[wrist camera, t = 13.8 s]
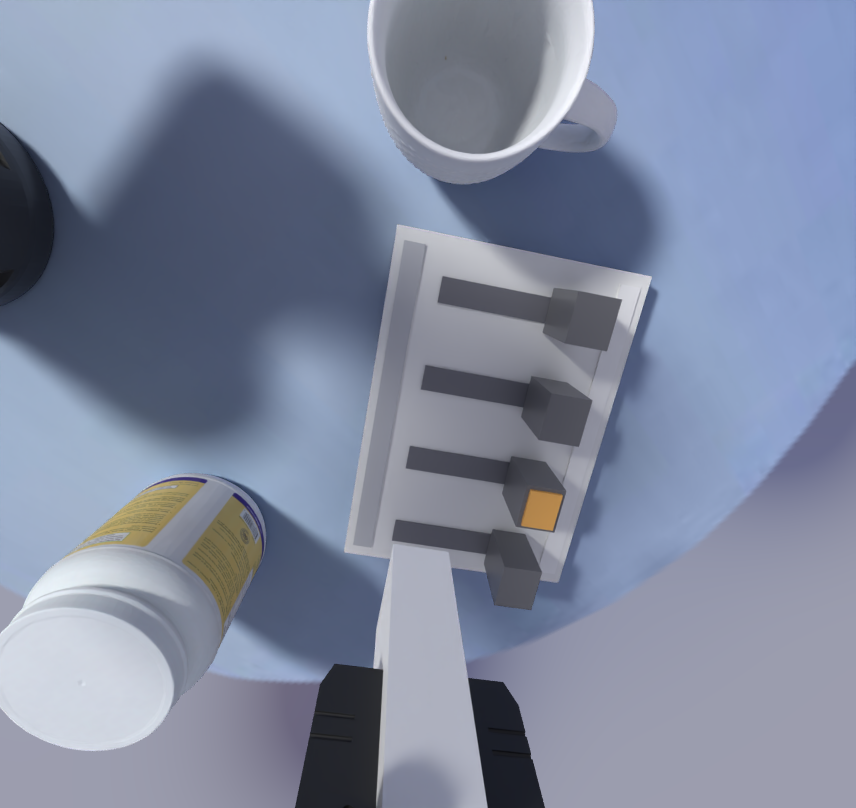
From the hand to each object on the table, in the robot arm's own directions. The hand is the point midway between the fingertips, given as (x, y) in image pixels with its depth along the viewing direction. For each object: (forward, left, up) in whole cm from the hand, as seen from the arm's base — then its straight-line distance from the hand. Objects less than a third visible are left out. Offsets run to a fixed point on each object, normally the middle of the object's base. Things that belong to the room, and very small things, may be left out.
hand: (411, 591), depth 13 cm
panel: (+7, -3, -28) cm, 29 cm away
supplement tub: (-16, -18, -29) cm, 37 cm away
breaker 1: (+11, +7, -26) cm, 29 cm away
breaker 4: (+11, -14, -26) cm, 31 cm away
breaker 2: (+11, 0, -26) cm, 28 cm away
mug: (+1, +19, -29) cm, 34 cm away
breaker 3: (+11, -7, -26) cm, 29 cm away
